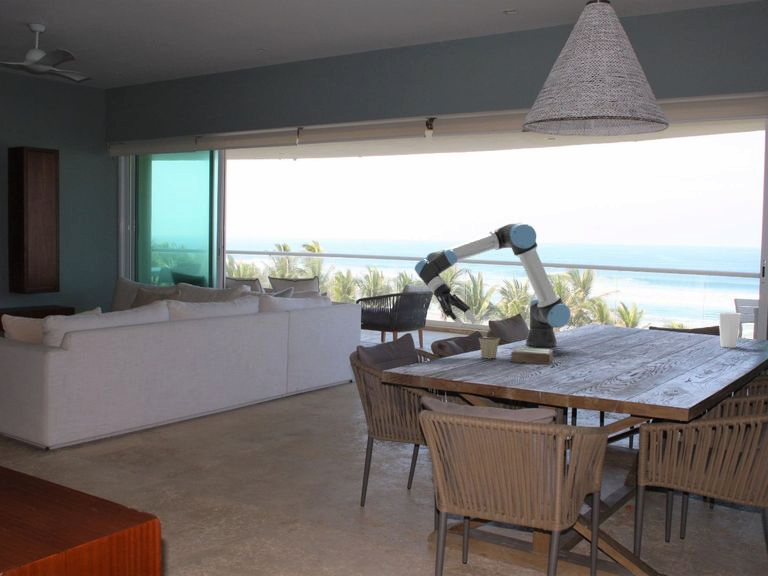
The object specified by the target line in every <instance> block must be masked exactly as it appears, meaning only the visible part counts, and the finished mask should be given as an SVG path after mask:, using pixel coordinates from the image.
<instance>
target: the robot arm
mask: <svg viewBox="0 0 768 576" xmlns="http://www.w3.org/2000/svg"><path fill="white" fill-rule="evenodd" d="M536 240H537V233H536V230H535V229H534V227H533V226H531V225H530V224H528V223H523V222H517V223H509V224H506V225H504V226H501V227H498V228H496V229H493V230H491V231H490V232H489V234H486V235H483V236H480V237H478V238H474V239H471V240H468V241H465V242H462V243H459V244H456V245H453V246H451V247H450V246H449V247H447V248H444V249H442V250H439V251H434V252H433V251H432V252H430V253H428V254H427V255H426V257H425V258H424V259H421V260H419V262H417V263H416V264H415V265H414V271H415V273H416V274H417V276H418V277H419V278H420V279H421V280H422V282H423V283H424V284H425V285H426V287H427V288H428V290H429V291H431V293H433V295H434V296H435V298H436V301H438V303H439V304H440V307H441V309H442V311H443V313H444V314H445V316H446V317H450V318H451V319H452V321H453V322H454V323H455V324H456V326H457V327H460V326H461V325H462V324H463V323H464V322H463V320H462V319H461V318H460V316H458V314H457V313H456V312H455V311H454V310H453V308H452V306H453V307H456V308H457V309H459V310H460V311H462V312H463V314H464V316H466V318H467V319H468V320H469V322H470V323H471V324H472V325H475V324H476V323H477V322H478V319H477V317H476V316H475V315H474V314H473V313H472V311H470V309H471V307H470V306H469V305H468V304H466V302H464V301H463V300H462V299H461V298H459V296H457V295H456V294H455V293H453V294H452V293H451V291H452V290H451V287H450V286H449V285H448V284H447V283H446V281H445V280H444V279H443V277H442V276H441V275H440V274H441V273H443V272H445V271H447V270H448V269H449V268H451V267H453V266H454V265H455V264H457V262H459V261H463V260H465V259H468V258H469V259H470V258H471V257H473V256H477V255H480V254H483V253H485V252H489V251H492V250H495V251H498V250H502V249H508V248H511V250H512V253H513V254H514V256H515V257H518V259H519V260H520V262H521V264H522V267H523V269H524V272H525V273H526V276H527V278H528V280H529V282H530V285H531V288H532V289H533V291H534V294H535V296H536V299H532V300H531V301H530V305H529V330H528V334H527V336H526V339H525V345H526V344H527V345H526V346H529V345H531V346H530V347H536V346H539V347H538V348H551V347H552V346H553V347H557V346H556V345H558V344H557V343H558V342H557V338H556V335H555V330H554V329H557V328H558V329H559V328H563V327H565V326H566V325H568V324H569V322H570V319H571V310H570V307H568V305H566V304H564V302H563V300H562V298H561V296H560V295H558V294H556V292H555V291H554V287H553V286H552V283H551V281H550V279H549V277H548V274H547V272H546V270H545V268H544V265H543V263H542V260H541V258H540V257H539V254H538V252H537V248H538V243H537V241H536Z"/></svg>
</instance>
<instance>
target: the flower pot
mask: <svg viewBox="0 0 768 576" xmlns="http://www.w3.org/2000/svg"><path fill="white" fill-rule="evenodd" d="M477 339H478V340H479V345H480V352H481V353H480V354H481V358H482V359H486V358H488V359H489V358H490V359H491V358H493V359H496V358H497V353H498V346H499V342H500V340H501V338H499V337H486V336H485V337H479V338H477ZM488 359H487V360H488ZM490 359H489V360H490ZM491 360H492V359H491Z"/></svg>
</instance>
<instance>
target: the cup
mask: <svg viewBox="0 0 768 576" xmlns="http://www.w3.org/2000/svg"><path fill="white" fill-rule="evenodd" d="M717 314H718V325H719V338H720V339H719V340H720V347H721V348H735V349H736V348H737V343H738V338H739V331H740V324H741V318H742V313H740V312H728V311H727V312H726V311H724V312H723V311H721V312H718V313H717Z"/></svg>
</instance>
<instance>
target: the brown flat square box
mask: <svg viewBox="0 0 768 576" xmlns="http://www.w3.org/2000/svg"><path fill="white" fill-rule="evenodd" d="M510 357H511V359H510V362H511V361H513V362H512V363H523V362H526V363H528V364H541V365H542V364H543V365H545V364H546V365H550V364H551V363H552V361H553V359H554V349H550V348H539V347H538V348H537V347H536V348H533V347H516V348H515V349H514V350H512V352H511V356H510Z"/></svg>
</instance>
